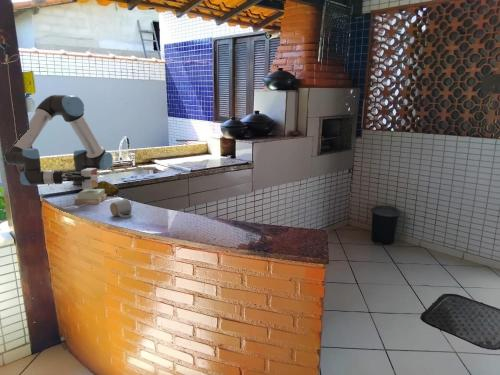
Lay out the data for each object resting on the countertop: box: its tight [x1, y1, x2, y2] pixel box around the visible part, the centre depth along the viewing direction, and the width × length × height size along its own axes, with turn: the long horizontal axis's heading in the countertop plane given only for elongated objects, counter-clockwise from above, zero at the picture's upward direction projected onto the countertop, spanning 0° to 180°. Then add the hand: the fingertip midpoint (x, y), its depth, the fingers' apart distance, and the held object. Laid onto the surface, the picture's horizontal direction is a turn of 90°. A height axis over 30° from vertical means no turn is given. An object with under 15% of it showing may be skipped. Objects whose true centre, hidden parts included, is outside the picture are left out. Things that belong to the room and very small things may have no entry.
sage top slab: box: [76, 188, 105, 199], centre depth 205 cm, size 11×11×3 cm
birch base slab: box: [73, 194, 108, 205], centre depth 206 cm, size 13×13×3 cm
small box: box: [81, 168, 99, 190], centre depth 203 cm, size 8×6×10 cm
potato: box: [96, 180, 120, 196], centre depth 219 cm, size 8×13×8 cm, turn 60°
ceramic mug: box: [109, 198, 133, 219], centre depth 179 cm, size 11×8×8 cm
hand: (98, 175), depth 204 cm, fingers closed on small box, 9 cm apart
